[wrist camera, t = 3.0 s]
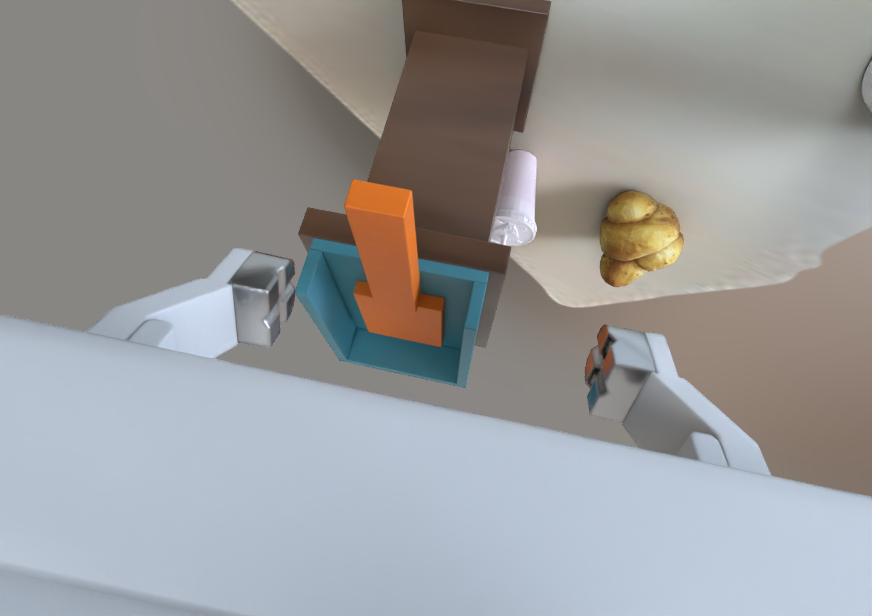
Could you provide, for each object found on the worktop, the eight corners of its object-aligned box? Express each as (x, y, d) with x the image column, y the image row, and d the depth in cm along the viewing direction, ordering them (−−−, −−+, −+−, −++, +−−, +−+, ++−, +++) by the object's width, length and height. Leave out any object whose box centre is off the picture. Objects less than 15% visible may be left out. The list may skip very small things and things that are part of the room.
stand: (397, -46, 41) (297, 234, 33) (562, -22, 40) (505, 275, 31) (409, 101, 56) (342, 321, 47) (529, 122, 55) (484, 351, 46)
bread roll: (596, 183, 62) (588, 242, 59) (687, 180, 58) (684, 243, 55) (606, 240, 73) (599, 292, 70) (683, 240, 69) (680, 295, 66)
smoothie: (487, 168, 64) (464, 270, 59) (502, 135, 58) (477, 246, 53) (537, 183, 65) (518, 285, 60) (557, 151, 59) (538, 263, 54)
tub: (313, 237, 32) (293, 292, 31) (489, 271, 32) (477, 330, 30) (351, 319, 46) (339, 360, 45) (474, 345, 46) (465, 388, 44)
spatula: (318, 171, 24) (308, 199, 24) (447, 195, 24) (440, 224, 23) (371, 320, 43) (366, 337, 42) (444, 335, 42) (440, 353, 42)
